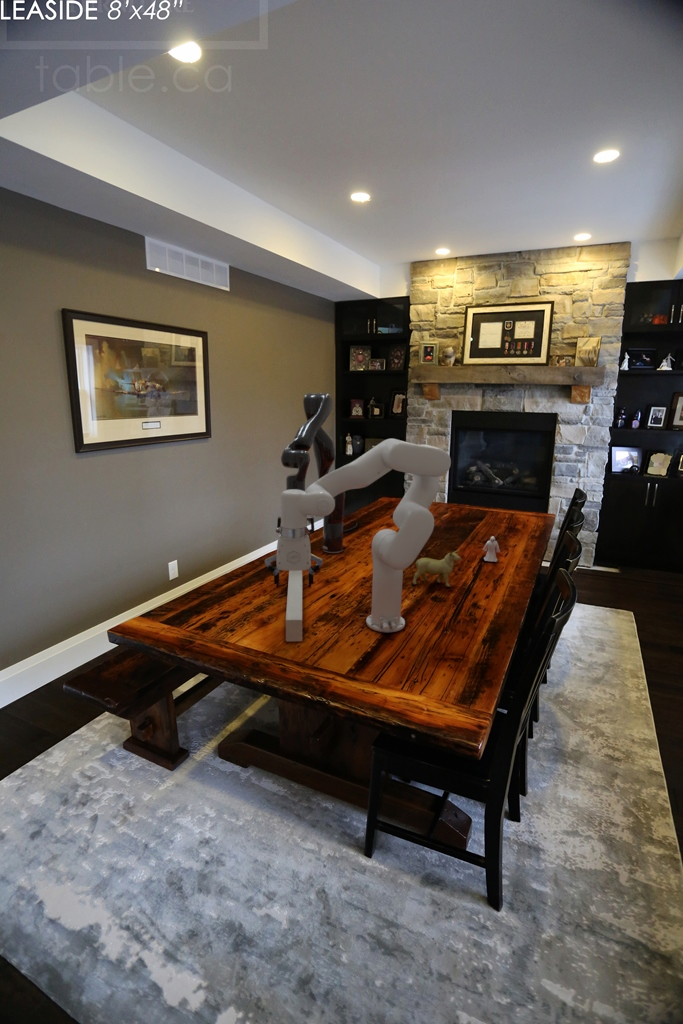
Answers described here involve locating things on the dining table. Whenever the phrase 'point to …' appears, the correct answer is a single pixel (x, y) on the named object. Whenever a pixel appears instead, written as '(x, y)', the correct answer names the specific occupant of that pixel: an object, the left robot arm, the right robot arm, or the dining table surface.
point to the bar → (294, 607)
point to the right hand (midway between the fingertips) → (293, 586)
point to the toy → (436, 567)
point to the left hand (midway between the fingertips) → (295, 543)
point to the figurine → (491, 550)
